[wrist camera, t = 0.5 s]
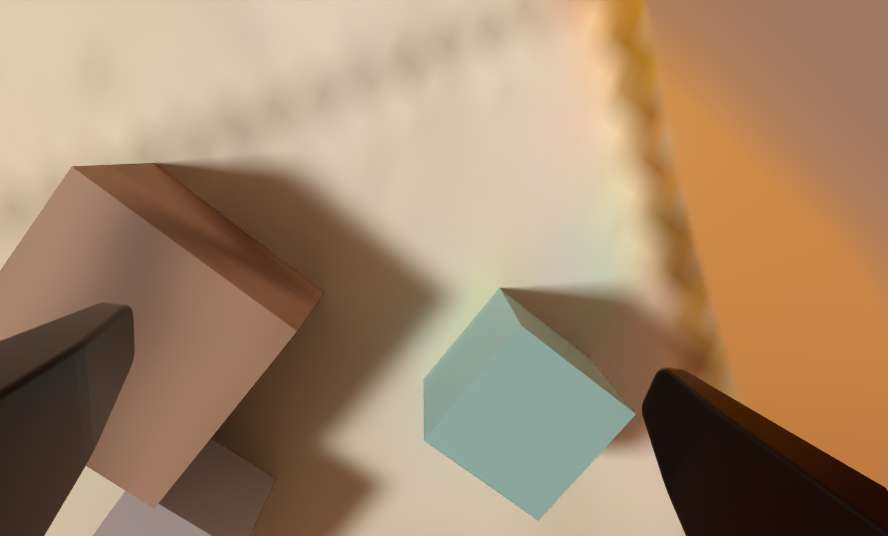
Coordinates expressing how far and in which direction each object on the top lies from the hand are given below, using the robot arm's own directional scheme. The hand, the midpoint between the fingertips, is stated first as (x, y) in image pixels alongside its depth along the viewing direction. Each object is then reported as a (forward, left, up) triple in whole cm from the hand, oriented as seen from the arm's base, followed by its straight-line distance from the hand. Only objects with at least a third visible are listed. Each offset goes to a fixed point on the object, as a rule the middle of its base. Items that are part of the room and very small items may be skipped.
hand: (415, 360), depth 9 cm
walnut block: (+6, +8, -13) cm, 16 cm away
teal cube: (-6, +2, -13) cm, 14 cm away
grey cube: (+1, +14, -13) cm, 19 cm away
